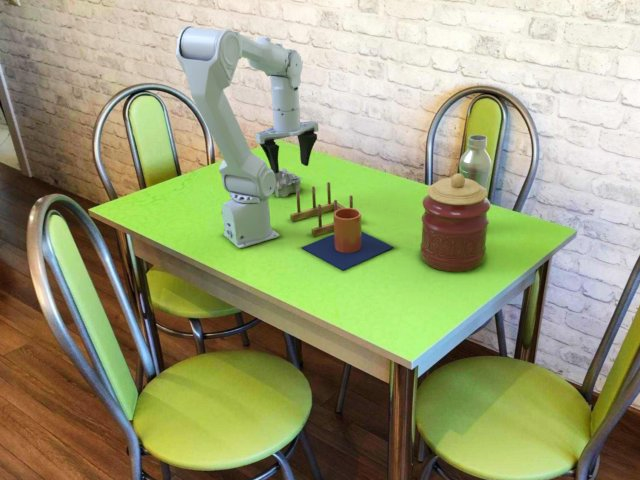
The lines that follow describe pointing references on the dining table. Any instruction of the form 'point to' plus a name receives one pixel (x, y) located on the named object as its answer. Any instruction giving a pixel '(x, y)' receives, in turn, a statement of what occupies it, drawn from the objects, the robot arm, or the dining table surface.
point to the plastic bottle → (476, 160)
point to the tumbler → (347, 230)
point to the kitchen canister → (454, 224)
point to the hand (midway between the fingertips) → (290, 168)
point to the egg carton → (286, 183)
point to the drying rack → (318, 211)
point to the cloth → (347, 260)
